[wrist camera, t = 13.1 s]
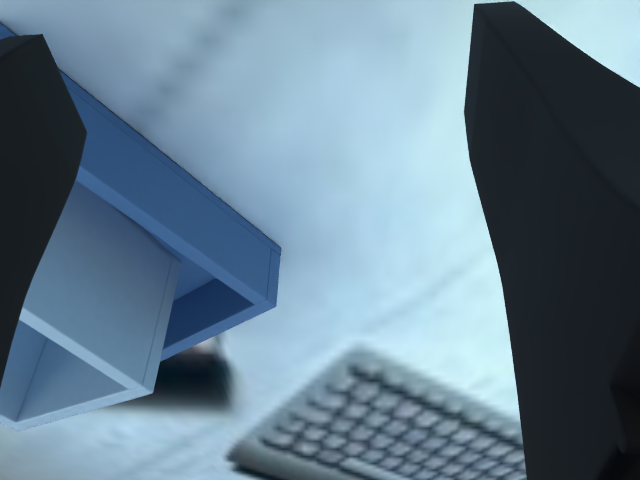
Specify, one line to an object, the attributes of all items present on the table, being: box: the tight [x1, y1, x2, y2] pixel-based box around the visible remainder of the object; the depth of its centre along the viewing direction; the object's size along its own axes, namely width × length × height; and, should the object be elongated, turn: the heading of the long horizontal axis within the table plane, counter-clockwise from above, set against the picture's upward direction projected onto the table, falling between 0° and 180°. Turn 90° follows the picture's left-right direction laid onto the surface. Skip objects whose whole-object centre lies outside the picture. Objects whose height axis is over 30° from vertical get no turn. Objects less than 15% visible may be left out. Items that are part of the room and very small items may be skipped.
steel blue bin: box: [0, 23, 281, 361], centre depth 27 cm, size 15×13×4 cm
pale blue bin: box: [0, 180, 182, 431], centre depth 26 cm, size 9×8×7 cm
